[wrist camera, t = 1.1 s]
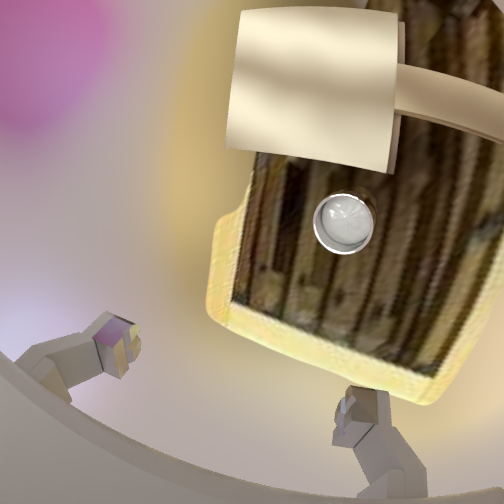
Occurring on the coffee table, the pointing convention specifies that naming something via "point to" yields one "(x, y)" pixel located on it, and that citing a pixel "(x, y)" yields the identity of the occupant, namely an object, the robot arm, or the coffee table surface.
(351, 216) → the beer glass
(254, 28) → the beige t-shaped block
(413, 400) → the coffee table surface
